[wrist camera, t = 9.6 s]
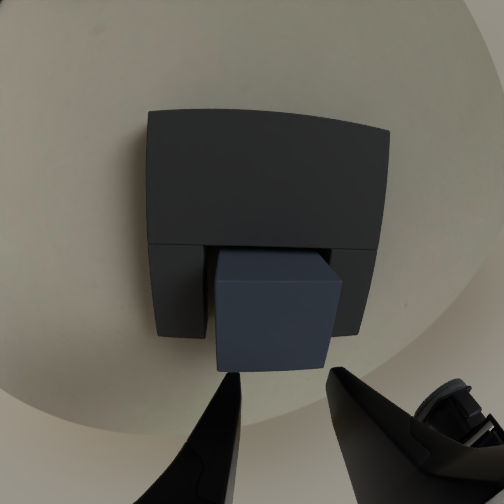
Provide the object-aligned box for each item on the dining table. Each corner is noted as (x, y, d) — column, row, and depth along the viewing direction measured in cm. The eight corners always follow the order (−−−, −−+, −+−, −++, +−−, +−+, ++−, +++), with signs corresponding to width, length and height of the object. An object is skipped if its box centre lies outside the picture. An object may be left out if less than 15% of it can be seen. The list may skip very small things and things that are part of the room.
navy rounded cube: (302, 317, 17) (323, 368, 12) (219, 317, 17) (216, 372, 12) (311, 245, 16) (343, 280, 11) (219, 242, 15) (214, 280, 11)
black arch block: (347, 319, 18) (358, 335, 16) (164, 318, 17) (157, 336, 15) (372, 133, 14) (390, 130, 12) (158, 117, 13) (147, 111, 11)
